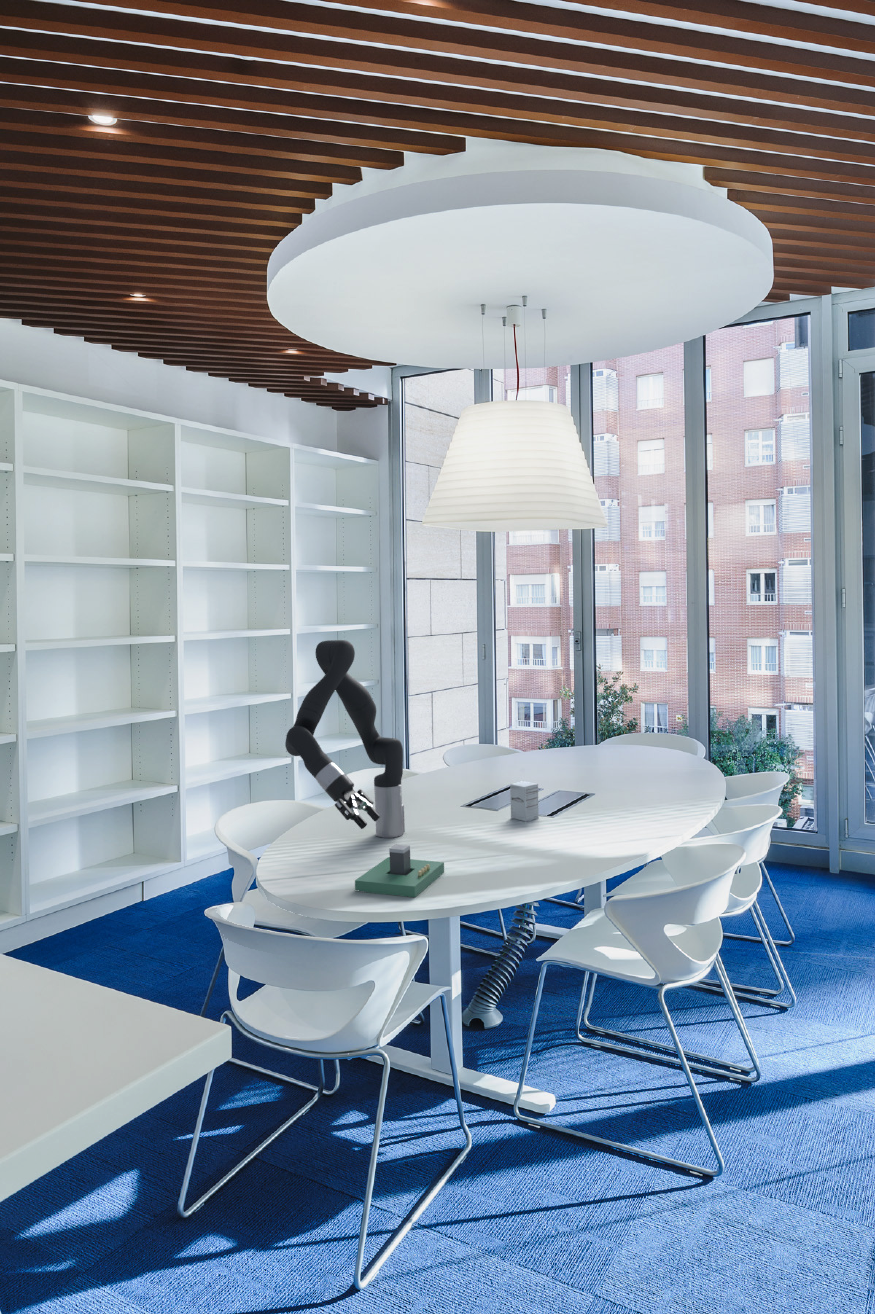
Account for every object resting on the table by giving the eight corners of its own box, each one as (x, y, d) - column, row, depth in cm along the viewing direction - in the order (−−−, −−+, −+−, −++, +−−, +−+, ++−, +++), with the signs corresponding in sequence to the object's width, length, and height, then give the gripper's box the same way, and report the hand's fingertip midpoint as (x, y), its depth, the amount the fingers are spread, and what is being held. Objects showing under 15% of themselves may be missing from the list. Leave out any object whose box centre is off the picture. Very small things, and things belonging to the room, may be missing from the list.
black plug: (397, 878, 253) (395, 844, 252) (411, 879, 251) (409, 845, 250) (390, 883, 249) (389, 848, 248) (404, 884, 247) (403, 849, 246)
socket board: (388, 866, 263) (387, 852, 263) (444, 872, 257) (443, 857, 256) (355, 890, 243) (354, 875, 243) (414, 897, 236) (414, 880, 236)
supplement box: (510, 818, 315) (509, 783, 314) (524, 814, 320) (523, 780, 319) (525, 822, 309) (524, 786, 308) (539, 817, 314) (538, 783, 313)
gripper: (330, 778, 247) (368, 820, 244) (353, 768, 261) (389, 808, 257) (314, 795, 250) (352, 838, 247) (338, 784, 263) (374, 825, 260)
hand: (371, 823), depth 252 cm, fingers open, 8 cm apart
